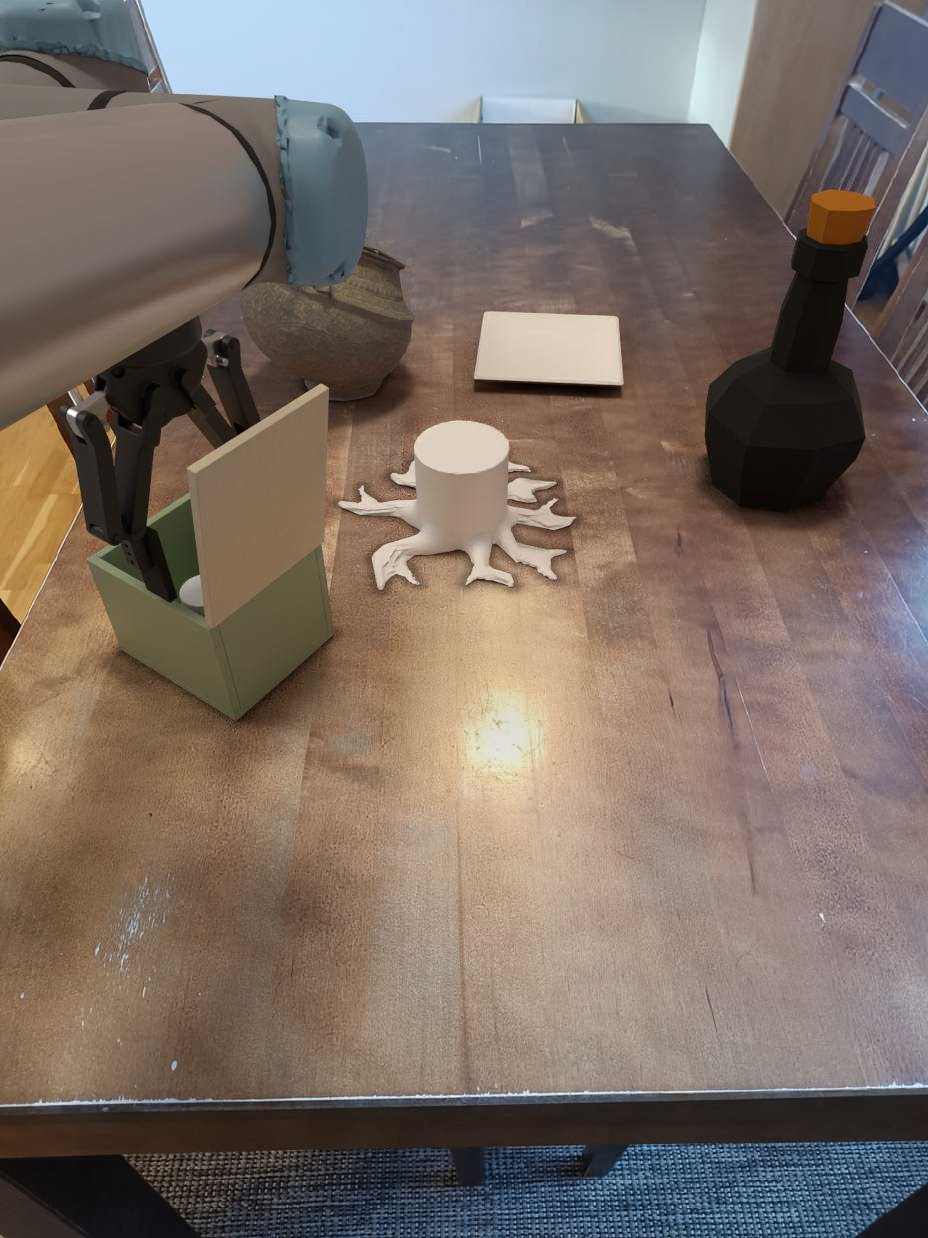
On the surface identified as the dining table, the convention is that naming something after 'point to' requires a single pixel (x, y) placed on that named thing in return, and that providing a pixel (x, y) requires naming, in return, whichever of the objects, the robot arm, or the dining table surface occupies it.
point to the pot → (335, 326)
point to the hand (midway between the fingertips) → (204, 562)
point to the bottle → (795, 376)
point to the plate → (549, 349)
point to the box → (236, 648)
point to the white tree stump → (462, 504)
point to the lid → (260, 503)
